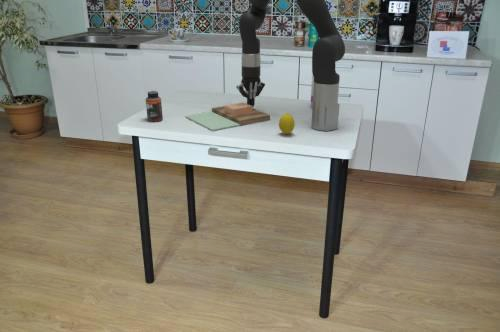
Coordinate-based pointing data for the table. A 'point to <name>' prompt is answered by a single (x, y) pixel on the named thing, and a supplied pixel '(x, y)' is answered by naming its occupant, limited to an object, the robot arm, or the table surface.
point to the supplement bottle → (154, 107)
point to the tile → (238, 108)
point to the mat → (212, 121)
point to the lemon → (286, 123)
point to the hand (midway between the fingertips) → (250, 107)
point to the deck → (243, 116)
